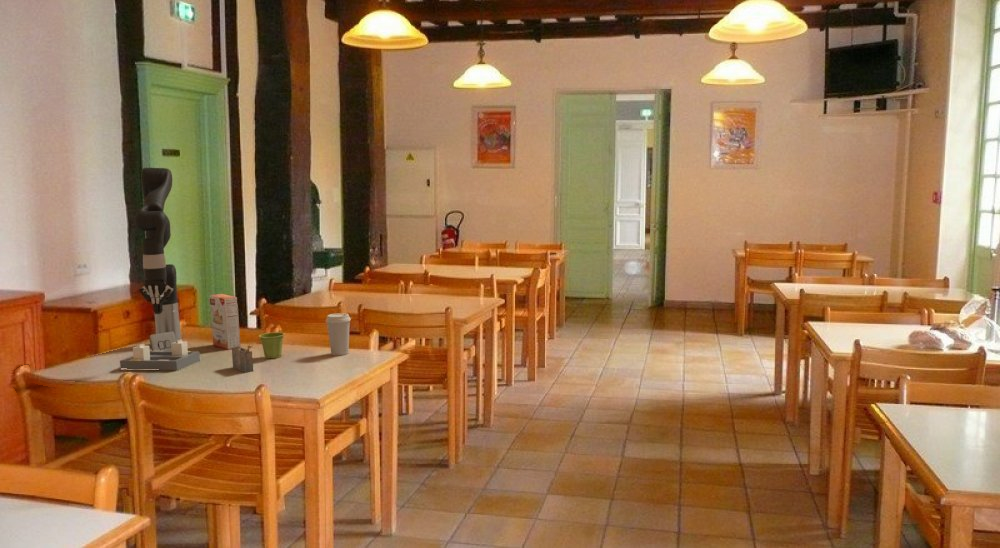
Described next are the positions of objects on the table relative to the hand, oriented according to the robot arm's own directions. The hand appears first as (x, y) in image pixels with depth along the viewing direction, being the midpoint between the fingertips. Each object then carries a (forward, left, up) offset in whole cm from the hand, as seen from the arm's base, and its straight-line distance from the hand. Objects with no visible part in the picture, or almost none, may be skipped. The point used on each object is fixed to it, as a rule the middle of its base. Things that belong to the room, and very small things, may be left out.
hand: (158, 313), depth 300 cm
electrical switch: (-17, -9, -20) cm, 28 cm away
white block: (-6, +4, -18) cm, 19 cm away
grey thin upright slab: (+3, +33, -20) cm, 39 cm away
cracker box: (-35, +8, -20) cm, 41 cm away
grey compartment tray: (-2, -1, -20) cm, 20 cm away
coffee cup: (-24, +60, -20) cm, 67 cm away
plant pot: (-17, +36, -20) cm, 44 cm away
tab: (+2, -6, -18) cm, 19 cm away
